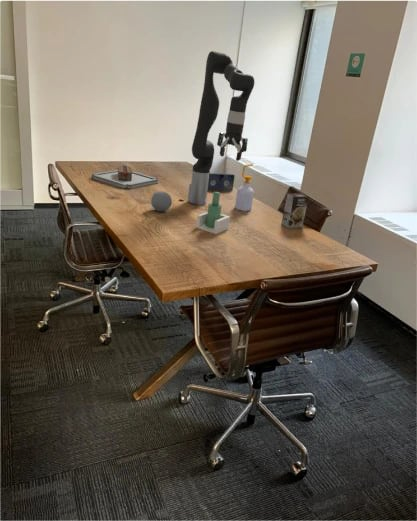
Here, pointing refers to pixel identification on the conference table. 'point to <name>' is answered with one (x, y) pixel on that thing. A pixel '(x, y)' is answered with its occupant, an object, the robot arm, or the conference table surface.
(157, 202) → the decorative stone
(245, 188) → the soap bottle
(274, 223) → the conference table surface
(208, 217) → the green bottle
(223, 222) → the u rest
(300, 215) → the coffee box
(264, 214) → the conference table surface
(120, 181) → the grey square tray
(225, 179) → the vhs cassette tape
